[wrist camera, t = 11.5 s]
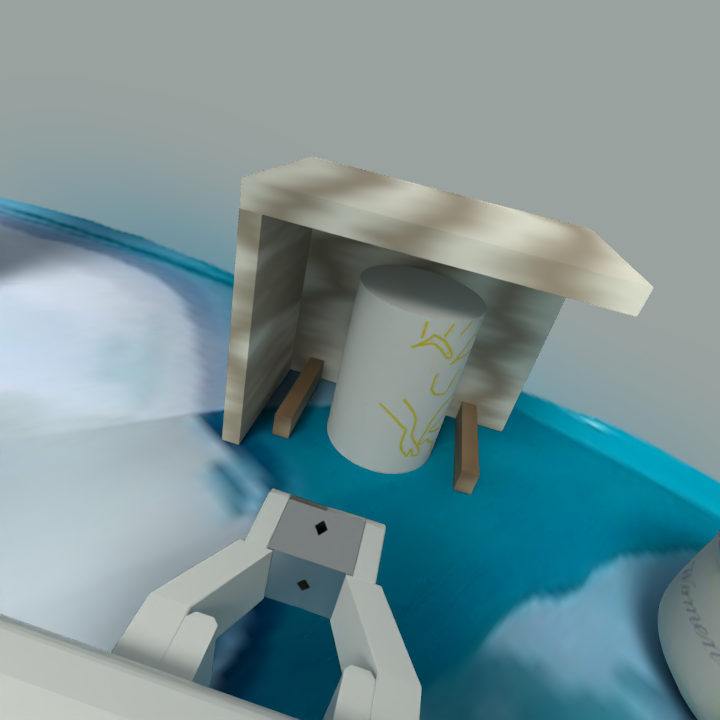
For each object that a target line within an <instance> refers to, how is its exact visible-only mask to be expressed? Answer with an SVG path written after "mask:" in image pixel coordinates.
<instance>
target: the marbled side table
mask: <svg viewBox="0 0 720 720" xmlns="http://www.w3.org/2000/svg"><path fill="white" fill-rule="evenodd" d="M378 265H400V266H408V267H414V268H419V269H423V270H427V271H431V272H434V273H437V274H440V275H443V276H445V277H448V278H450V279H453V280H455V281H457V282H459V283H461V284H463V285H465V286H466V287H468V288H470V289H471V290H473V291H474V292H475V293H476V294H478V295H479V296H480V297H481V298H482V299H483V301H484V302H485V304H486V313H485V315H484V318H483V320H482V323H481V325H480V328H479V330H478V333H477V336H476V338H475V341H474V343H473V346H472V348H471V351H470V354H469V356H468V359H467V361H466V364H465V366H464V369H463V372H462V374H461V377H460V379H459V382H458V384H457V387H456V390H455V392H454V395H453V397H452V400H451V402H450V405H449V408H448V410H447V413H446V415H447V416H450V417H454V418H456V419H455V454H454V490H457V491H460V492H464V493H467V494H470V495H471V492H472V490H473V488H474V486H475V484H476V482H477V480H478V478H479V454H478V430H477V424H478V425H481V426H484V427H488V428H491V429H494V430H498V431H501V432H502V430H503V428H504V426H505V424H506V422H507V420H508V418H509V415H510V413H511V411H512V409H513V407H514V405H515V403H516V401H517V399H518V397H519V395H520V393H521V390H522V388H523V386H524V384H525V382H526V380H527V378H528V376H529V374H530V371H531V370H532V367H533V365H534V363H535V361H536V359H537V357H538V355H539V353H540V351H541V349H542V347H543V345H544V342H545V340H546V338H547V336H548V334H549V332H550V330H551V328H552V326H553V324H554V322H555V320H556V318H557V316H558V313H559V311H560V309H561V307H562V305H563V303H564V301H565V299H566V297H567V298H571V299H574V300H578V301H581V302H585V303H589V304H592V305H596V306H600V307H603V308H607V309H611V310H614V311H618V312H622V313H625V314H629V315H633V316H638V314H639V312H640V310H641V309H642V307H643V305H644V304H645V302H646V300H647V298H648V296H649V295H650V293H651V291H652V290H653V286H652V285H650V284H649V283H648V282H647V281H646V280H645V279H644V278H643V277H642V276H641V275H640V274H639V273H638V272H636V271H635V270H634V269H633V268H632V267H631V266H630V265H629V264H628V263H627V262H626V261H624V260H623V259H622V258H621V257H620V256H619V255H618V254H617V253H616V252H615V251H614V250H613V249H612V248H611V247H609V246H608V245H607V244H606V243H605V242H604V241H603V240H602V239H601V238H600V237H599V236H598V235H596V234H595V233H594V232H593V231H592V230H591V229H588V228H584V227H580V226H576V225H572V224H569V223H564V222H561V221H557V220H553V219H549V218H546V217H541V216H538V215H534V214H530V213H526V212H523V211H519V210H515V209H511V208H507V207H503V206H500V205H496V204H491V203H488V202H484V201H481V200H477V199H473V198H469V197H465V196H461V195H457V194H454V193H450V192H446V191H442V190H439V189H434V188H431V187H427V186H423V185H419V184H415V183H412V182H408V181H404V180H400V179H396V178H393V177H389V176H385V175H381V174H377V173H374V172H369V171H366V170H362V169H358V168H354V167H351V166H346V165H342V164H339V163H335V162H331V161H328V160H324V159H320V158H316V157H309V158H306V159H302V160H299V161H296V162H292V163H289V164H285V165H282V166H279V167H275V168H272V169H268V170H265V171H262V172H258V173H255V174H251V175H248V176H244V177H242V181H241V195H240V208H239V222H238V236H237V248H236V262H235V274H234V288H233V301H232V314H231V328H230V341H229V354H228V368H227V381H226V394H225V407H224V421H223V434H222V440H224V441H228V442H231V443H234V444H237V445H239V444H240V442H241V441H242V439H243V438H244V437H245V435H246V434H247V432H248V431H249V429H250V428H251V426H252V425H253V423H254V422H255V420H256V419H257V417H258V416H259V414H260V413H261V411H262V410H263V409H264V407H265V406H266V404H267V403H268V401H269V400H270V398H271V397H272V395H273V394H274V392H275V391H276V389H277V388H278V386H279V385H280V383H281V382H282V380H283V379H284V378H285V376H286V375H287V373H288V372H289V370H290V369H292V370H295V371H298V372H301V373H300V375H299V377H298V378H297V380H296V381H295V383H294V385H293V386H292V388H291V389H290V391H289V392H288V394H287V396H286V397H285V399H284V400H283V402H282V404H281V405H280V407H279V408H278V410H277V412H276V413H275V418H274V424H273V431H272V434H275V435H278V436H281V437H284V438H289V436H290V434H291V433H292V431H293V429H294V427H295V425H296V423H297V421H298V420H299V418H300V416H301V414H302V412H303V410H304V408H305V407H306V405H307V403H308V401H309V399H310V397H311V395H312V394H313V392H314V390H315V388H316V386H317V384H318V382H319V381H320V379H321V378H322V379H325V380H329V381H332V382H335V383H337V378H338V374H339V370H340V365H341V361H342V356H343V352H344V347H345V343H346V338H347V334H348V329H349V325H350V321H351V316H352V312H353V307H354V303H355V298H356V294H357V289H358V285H359V280H360V276H361V273H362V272H363V271H364V270H365V269H367V268H369V267H373V266H378Z"/></svg>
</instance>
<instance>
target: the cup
mask: <svg viewBox="0 0 720 720" xmlns="http://www.w3.org/2000/svg"><path fill="white" fill-rule="evenodd" d="M485 313H486V304H485V302H484V301H483V299H482V298H481V297H480V296H479V295H478V294H476V293H475V292H474V291H473V290H471V289H470V288H468V287H466V286H465V285H463V284H461V283H459V282H457V281H455V280H453V279H450V278H448V277H445V276H443V275H440V274H437V273H434V272H431V271H427V270H423V269H419V268H414V267H408V266H400V265H378V266H373V267H369V268H367V269H365V270H364V271H363V272H362V273H361V276H360V280H359V285H358V289H357V294H356V298H355V303H354V307H353V312H352V316H351V321H350V325H349V329H348V334H347V338H346V343H345V347H344V352H343V356H342V361H341V365H340V370H339V374H338V378H337V383H336V387H335V392H334V396H333V401H332V405H331V410H330V414H329V419H328V423H327V432H328V436H329V438H330V441H331V442H332V444H333V446H334V447H335V448H336V449H337V450H338V451H339V452H340V453H341V454H342V455H343V456H344V457H345V458H347V459H348V460H350V461H351V462H353V463H355V464H357V465H359V466H361V467H363V468H366V469H368V470H372V471H376V472H380V473H389V474H398V473H406V472H410V471H413V470H415V469H417V468H419V467H421V466H422V465H423V464H424V463H425V462H426V461H427V460H428V458H429V456H430V454H431V451H432V449H433V446H434V443H435V441H436V438H437V436H438V433H439V431H440V428H441V426H442V423H443V420H444V418H445V415H446V413H447V410H448V408H449V405H450V402H451V400H452V397H453V395H454V392H455V390H456V387H457V384H458V382H459V379H460V377H461V374H462V372H463V369H464V366H465V364H466V361H467V359H468V356H469V354H470V351H471V348H472V346H473V343H474V341H475V338H476V336H477V333H478V330H479V328H480V325H481V323H482V320H483V318H484V315H485Z"/></svg>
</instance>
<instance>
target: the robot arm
mask: <svg viewBox="0 0 720 720" xmlns="http://www.w3.org/2000/svg"><path fill="white" fill-rule="evenodd" d="M385 531H386V527H385V525H384V524H381V523H378V522H375V521H371V520H368V519H366V518H363V517H360V516H357V515H354V514H350V513H347V512H344V511H341V510H337V509H334V508H331V507H326V506H323V505H320V504H317V503H314V502H312V501H309V500H306V499H303V498H300V497H297V496H295V495H291V494H288V493H285V492H283V491H280V490H277V489H274V488H273V489H272V490H271V491H270V492H269V494H268V496H267V498H266V500H265V501H264V503H263V505H262V507H261V509H260V511H259V513H258V515H257V517H256V519H255V521H254V523H253V525H252V527H251V529H250V531H249V533H248V535H247V537H246V539H245V541H244V540H241V539H238V540H236V541H235V542H233V543H232V544H230V545H228V546H227V547H225V548H223V549H222V550H220V551H218V552H217V553H215V554H213V555H212V556H210V557H208V558H207V559H205V560H203V561H202V562H200V563H199V564H197V565H195V566H194V567H192V568H190V569H189V570H187V571H185V572H184V573H182V574H180V575H179V576H177V577H175V578H174V579H172V580H171V581H169V582H167V583H166V584H164V585H162V586H161V587H159V588H157V589H156V590H154V591H152V592H151V593H150V594H149V595H148V597H147V598H146V600H145V601H144V603H143V604H142V606H141V607H140V609H139V610H138V612H137V613H136V615H135V617H134V618H133V620H132V621H131V623H130V624H129V626H128V627H127V629H126V630H125V632H124V633H123V635H122V637H121V638H120V640H119V641H118V643H117V644H116V646H115V647H114V649H113V650H112V652H111V653H110V652H107V651H104V650H102V649H99V648H96V647H93V646H90V645H87V644H85V643H82V642H79V641H76V640H73V639H70V638H68V637H65V636H62V635H59V634H56V633H53V632H51V631H48V630H45V629H42V628H39V627H36V626H34V625H31V624H28V623H25V622H22V621H20V620H17V619H14V618H11V617H8V616H5V615H3V614H0V720H299V719H297V718H294V717H291V716H288V715H285V714H282V713H280V712H277V711H274V710H271V709H268V708H266V707H263V706H260V705H257V704H254V703H251V702H249V701H246V700H243V699H240V698H237V697H234V696H232V695H229V694H226V693H223V692H220V691H218V690H215V689H212V688H209V685H210V683H211V678H212V670H213V661H214V652H215V644H216V639H217V638H218V637H219V636H220V635H221V634H223V633H224V632H225V631H226V630H227V629H228V628H230V627H231V626H232V625H233V624H234V623H236V622H237V621H238V620H239V619H240V618H241V617H243V616H244V615H245V614H246V613H247V612H249V611H250V610H251V609H252V608H253V607H254V606H256V605H257V604H258V603H259V602H260V601H261V600H263V598H264V597H267V598H270V599H273V600H277V601H280V602H283V603H286V604H290V605H293V606H296V607H299V608H302V609H304V610H307V611H310V612H313V613H315V614H318V615H321V616H323V617H326V618H329V619H331V620H330V623H331V627H332V631H333V636H334V640H335V645H336V649H337V653H338V658H339V662H340V666H341V671H342V676H341V679H340V681H339V683H338V686H337V688H336V690H335V693H334V695H333V697H332V699H331V702H330V704H329V706H328V709H327V711H326V713H325V716H324V718H323V720H419V716H420V703H421V689H422V687H421V685H420V682H419V680H418V677H417V675H416V672H415V669H414V667H413V664H412V662H411V659H410V657H409V654H408V652H407V649H406V647H405V644H404V642H403V639H402V637H401V634H400V632H399V629H398V627H397V624H396V622H395V619H394V617H393V614H392V612H391V609H390V607H389V604H388V602H387V599H386V597H385V594H384V592H383V589H382V586H379V585H377V584H376V579H377V574H378V569H379V563H380V558H381V552H382V547H383V542H384V536H385Z"/></svg>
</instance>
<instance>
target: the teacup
mask: <svg viewBox="0 0 720 720" xmlns="http://www.w3.org/2000/svg"><path fill="white" fill-rule="evenodd" d="M658 632H659V638H660V642H661V646H662V650H663V653H664V656H665V659H666V662H667V664H668V666H669V669H670V671H671V673H672V675H673V678H674V680H675V682H676V684H677V686H678V688H679V691H680V693H681V694H682V696H683V698H684V700H685V701H686V703H687V705H688V706H689V708H690V709H691V711H692V712H693V714H694V715H695V717H696V718H697V720H720V530H719V533H718V535H717V536H716V537H714V538H713V539H712V540H711V541H710V542H709V543H708V544H707V545H706V546H705V547H703V548H702V549H701V550H700V551H699V552H698V553H697V554H696V555H695V556H694V557H693V558H692V559H691V560H690V561H689V562H688V563H687V564H686V566H685V567H684V568H683V569H682V570H681V571H680V572H679V573H678V574H677V575H676V576H675V578H674V579H673V580H672V581H671V583H670V584H669V586H668V587H667V589H666V590H665V592H664V594H663V596H662V599H661V602H660V605H659V610H658Z"/></svg>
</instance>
